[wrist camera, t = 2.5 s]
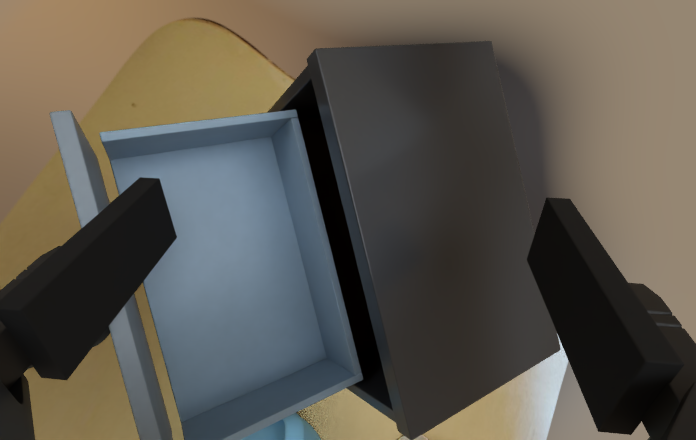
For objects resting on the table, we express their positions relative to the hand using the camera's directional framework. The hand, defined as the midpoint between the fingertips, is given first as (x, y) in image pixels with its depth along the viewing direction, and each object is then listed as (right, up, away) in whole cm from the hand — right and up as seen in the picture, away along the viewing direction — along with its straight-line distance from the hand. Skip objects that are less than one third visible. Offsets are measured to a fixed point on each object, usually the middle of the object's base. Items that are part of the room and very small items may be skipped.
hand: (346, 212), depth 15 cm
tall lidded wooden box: (-10, -3, +32) cm, 34 cm away
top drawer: (-11, -4, +4) cm, 13 cm away
